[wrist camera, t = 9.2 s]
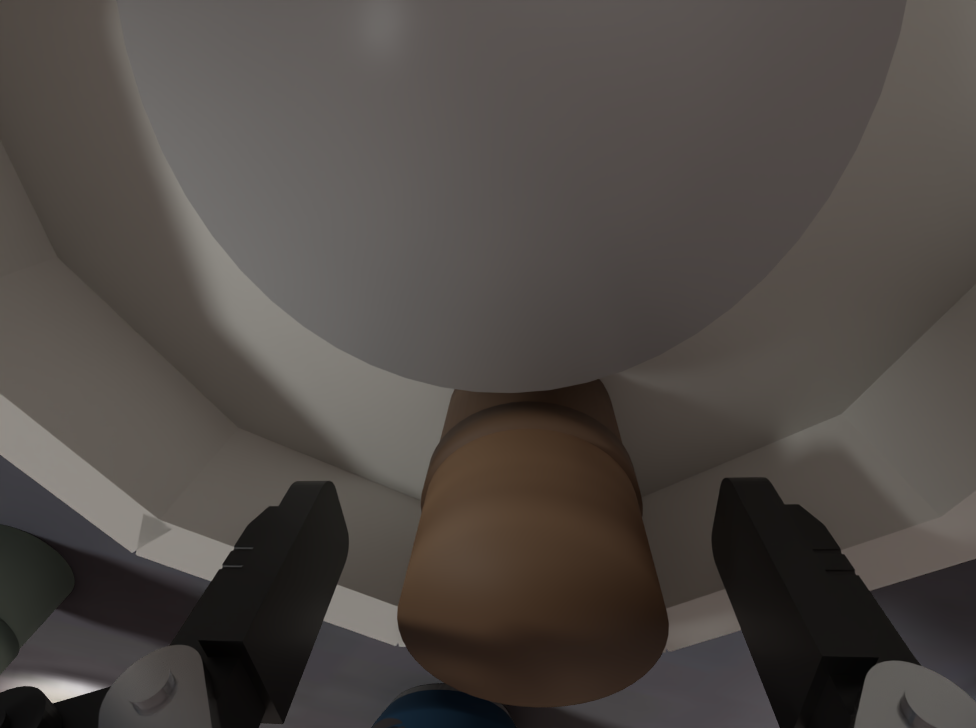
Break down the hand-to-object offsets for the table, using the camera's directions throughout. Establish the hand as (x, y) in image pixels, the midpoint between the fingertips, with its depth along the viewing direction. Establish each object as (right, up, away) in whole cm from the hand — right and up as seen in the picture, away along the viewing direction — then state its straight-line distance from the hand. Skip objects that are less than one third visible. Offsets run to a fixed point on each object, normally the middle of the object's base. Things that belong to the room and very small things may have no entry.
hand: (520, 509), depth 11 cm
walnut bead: (0, +1, +3) cm, 3 cm away
